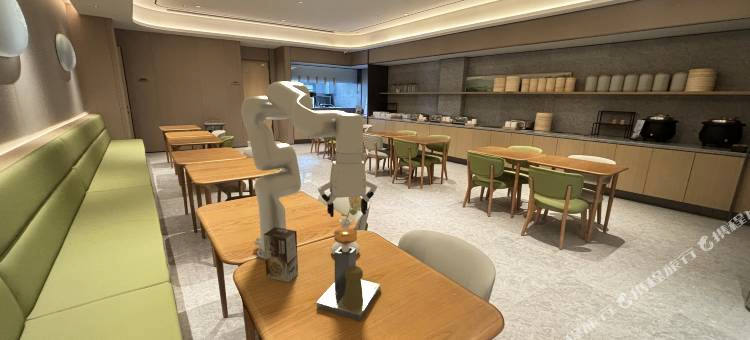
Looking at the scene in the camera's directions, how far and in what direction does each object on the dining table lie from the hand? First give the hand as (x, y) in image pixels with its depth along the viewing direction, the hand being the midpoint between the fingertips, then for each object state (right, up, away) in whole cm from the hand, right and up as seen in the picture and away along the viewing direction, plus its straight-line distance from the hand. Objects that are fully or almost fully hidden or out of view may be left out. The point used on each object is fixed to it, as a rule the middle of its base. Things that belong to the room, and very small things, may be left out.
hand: (347, 214), depth 94 cm
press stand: (0, -27, +4) cm, 27 cm away
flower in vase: (-3, -20, +33) cm, 39 cm away
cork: (+2, -26, -1) cm, 26 cm away
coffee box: (-24, -24, +16) cm, 37 cm away
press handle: (-1, -19, +7) cm, 20 cm away
